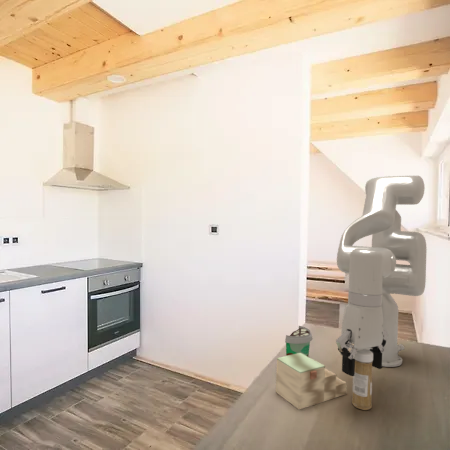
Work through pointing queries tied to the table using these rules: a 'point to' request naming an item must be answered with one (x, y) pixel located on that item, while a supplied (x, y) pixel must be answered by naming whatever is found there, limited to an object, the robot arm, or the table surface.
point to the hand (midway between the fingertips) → (362, 370)
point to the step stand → (306, 381)
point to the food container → (298, 341)
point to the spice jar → (362, 379)
